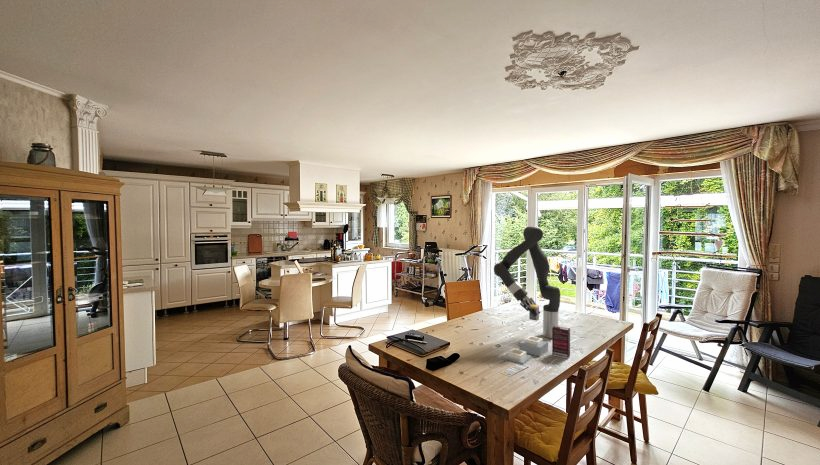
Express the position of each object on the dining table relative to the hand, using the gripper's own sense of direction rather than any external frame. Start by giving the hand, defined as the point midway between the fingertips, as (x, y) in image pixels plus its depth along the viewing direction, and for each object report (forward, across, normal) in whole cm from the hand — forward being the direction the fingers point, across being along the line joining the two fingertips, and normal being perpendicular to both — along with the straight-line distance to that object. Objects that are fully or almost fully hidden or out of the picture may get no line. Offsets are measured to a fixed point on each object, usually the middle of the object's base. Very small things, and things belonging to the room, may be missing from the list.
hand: (537, 314), depth 190 cm
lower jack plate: (+12, -17, +18) cm, 28 cm away
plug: (+1, 0, +4) cm, 4 cm away
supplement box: (+24, +3, +7) cm, 25 cm away
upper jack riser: (+14, 0, +17) cm, 22 cm away
